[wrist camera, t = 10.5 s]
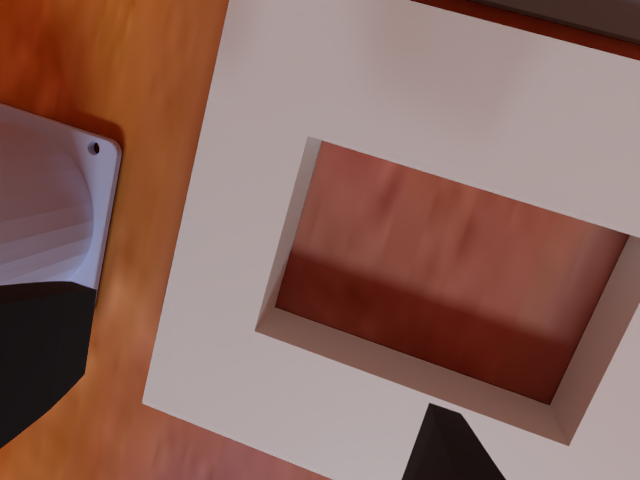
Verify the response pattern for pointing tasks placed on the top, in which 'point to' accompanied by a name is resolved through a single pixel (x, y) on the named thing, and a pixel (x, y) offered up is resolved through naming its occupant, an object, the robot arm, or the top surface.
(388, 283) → the top surface
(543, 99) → the puzzle board
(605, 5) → the rubber mat
